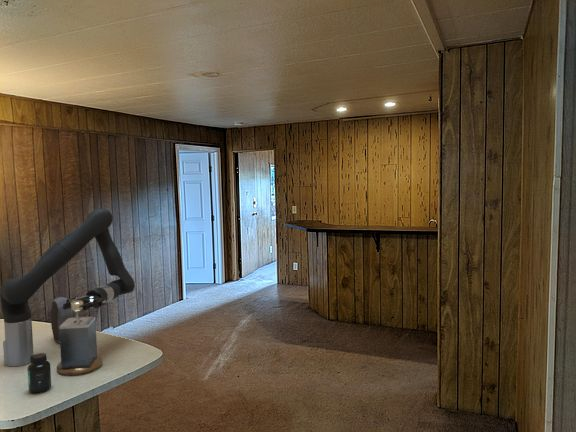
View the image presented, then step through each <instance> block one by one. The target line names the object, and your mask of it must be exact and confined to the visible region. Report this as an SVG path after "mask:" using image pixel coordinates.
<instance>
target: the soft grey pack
mask: <svg viewBox="0 0 576 432" xmlns="http://www.w3.org/2000/svg"><path fill="white" fill-rule="evenodd" d="M67 299H68V298H67V297H66V296H65V297H63V296H58V297H56V299H55V298H54V299H52V301H51V305H50V325H51V332H52V336H53V340H54V341H55V342H57V343H60V330H59V326H60V325H61V324H63V323H64V322H65V321H66V320H67V319H68V318H76V314H75V312H73V311H71V308H68V309H66V310H65V309H63V304H65V303H66V300H67Z"/></svg>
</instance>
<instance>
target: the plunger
mask: <svg viewBox="0 0 576 432" xmlns="http://www.w3.org/2000/svg"><path fill="white" fill-rule="evenodd" d="M82 305H84V303H83V301H73V302H71V311H73V312H74V313H75V318H76V322H80V312H81V311H82V312H83V310H82Z"/></svg>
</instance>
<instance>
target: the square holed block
mask: <svg viewBox="0 0 576 432" xmlns="http://www.w3.org/2000/svg"><path fill="white" fill-rule="evenodd" d="M79 317H80V316H79ZM96 324H97V323H96V316H82V317H80V322H76V317H75V318H68V319H67V320H66V321H65V322H64V323H63V324H61V325H60V326H59V330H60V342H59V349H60V362H59V363H58V364H57V366H56V373H57V374H58V375H60V376H63V377H77V376H83V375H84V376H85V375H88V374H90V373H93V372H96V371H97V370H99V369H100V368H101V367H102V366H103V363H104V361H103V360H104V359H103V358H102V356H100V355H98V343H97V340H98V339H97V325H96Z"/></svg>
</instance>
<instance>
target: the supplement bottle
mask: <svg viewBox="0 0 576 432" xmlns="http://www.w3.org/2000/svg"><path fill="white" fill-rule="evenodd" d="M51 370H52V369H51V362H49V361H48V358H47V354H46V353H44V352H41V353H40V352H39V353H36V354H35V353H34V355H32V356H31V357H30V363H29V365H28V366H27V384H28V385H27V386H28V392H29V393H30V394H32V395H33V394H34V395H37V394H43V393H45V392H47V391H49V390H50V389H51V388H52V376H51V375H52V371H51Z"/></svg>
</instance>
